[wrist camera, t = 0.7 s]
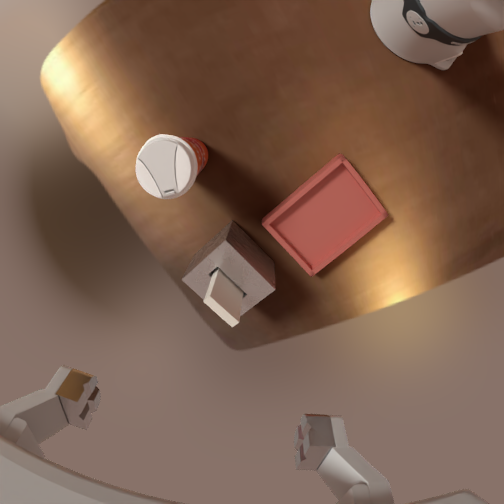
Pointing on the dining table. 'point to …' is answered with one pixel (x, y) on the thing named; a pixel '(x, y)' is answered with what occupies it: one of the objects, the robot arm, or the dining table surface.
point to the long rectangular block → (224, 297)
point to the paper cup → (170, 165)
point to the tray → (325, 215)
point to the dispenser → (233, 266)
